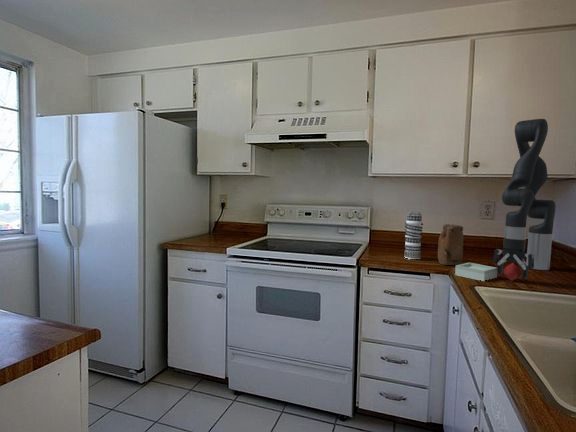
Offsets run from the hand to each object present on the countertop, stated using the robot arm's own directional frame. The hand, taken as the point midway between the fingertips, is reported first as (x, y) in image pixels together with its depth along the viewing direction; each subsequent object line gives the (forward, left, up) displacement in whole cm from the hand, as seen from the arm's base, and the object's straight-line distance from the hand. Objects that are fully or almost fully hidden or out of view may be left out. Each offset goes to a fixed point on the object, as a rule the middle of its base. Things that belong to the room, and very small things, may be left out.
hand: (511, 276), depth 141 cm
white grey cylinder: (-5, -50, -2) cm, 50 cm away
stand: (+5, -12, -2) cm, 13 cm away
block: (-8, -31, -2) cm, 32 cm away
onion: (0, 0, -2) cm, 2 cm away
